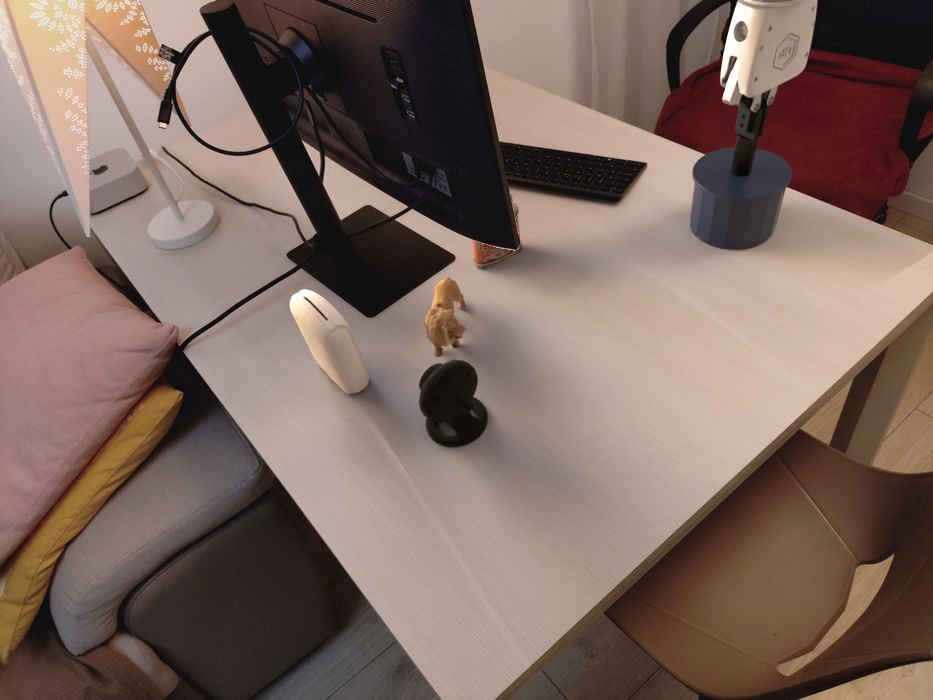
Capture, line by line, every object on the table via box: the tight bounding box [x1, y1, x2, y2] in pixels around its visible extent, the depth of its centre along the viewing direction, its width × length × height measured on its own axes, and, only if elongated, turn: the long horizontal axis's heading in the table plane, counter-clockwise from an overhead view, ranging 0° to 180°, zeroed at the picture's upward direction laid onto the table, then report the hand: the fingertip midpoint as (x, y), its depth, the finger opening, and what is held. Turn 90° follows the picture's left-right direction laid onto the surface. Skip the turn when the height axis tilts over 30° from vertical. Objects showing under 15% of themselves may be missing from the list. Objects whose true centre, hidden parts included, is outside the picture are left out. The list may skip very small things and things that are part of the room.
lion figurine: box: [423, 277, 467, 357], centre depth 83 cm, size 15×5×9 cm, turn 4°
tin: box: [689, 182, 787, 250], centre depth 89 cm, size 12×12×8 cm
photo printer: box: [289, 289, 371, 395], centre depth 80 cm, size 10×4×12 cm, turn 39°
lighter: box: [471, 193, 523, 271], centre depth 92 cm, size 8×3×10 cm, turn 119°
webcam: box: [418, 359, 489, 448], centre depth 72 cm, size 8×8×10 cm
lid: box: [691, 134, 793, 201], centre depth 84 cm, size 13×13×7 cm
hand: (748, 133), depth 82 cm, fingers closed
